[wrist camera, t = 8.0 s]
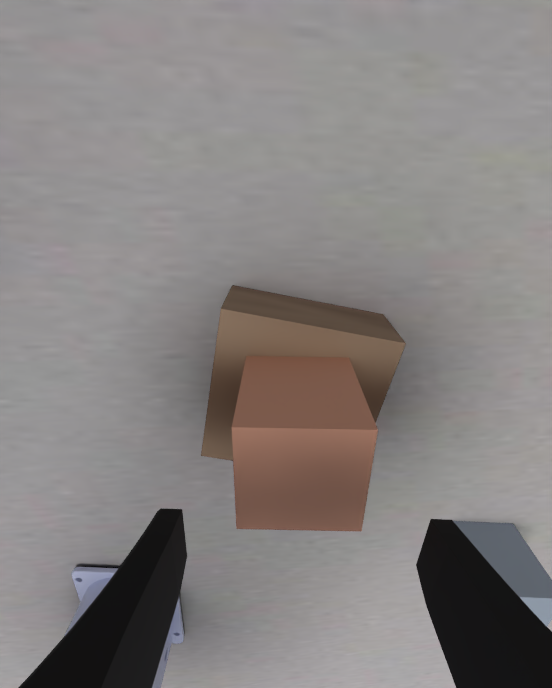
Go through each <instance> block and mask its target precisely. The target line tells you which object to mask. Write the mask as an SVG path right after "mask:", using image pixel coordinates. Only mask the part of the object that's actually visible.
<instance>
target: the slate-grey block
mask: <svg viewBox="0 0 552 688" xmlns="http://www.w3.org/2000/svg"><path fill="white" fill-rule="evenodd" d="M453 522H454V523H455V524H456V525H457V526H458V527H459V529H460V530H461V531H462V532H463V533H464V534H465V536H466V537H467V538H468V539H469V540H470V541H471V543H472V544H473V545H474V546H475V547H476V548H477V550H478V551H479V552H480V553H481V554H482V555H483V557H484V558H485V559H486V560H487V561H488V562H489V563H490V565H491V566H492V567H493V568H494V569H495V570H496V572H497V573H498V574H499V575H500V576H501V577H502V578H503V579H504V581H505V582H506V583H507V584H508V585H509V586H510V587H511V588H512V589H513V591H514V592H515V593H516V594H517V595H518V596H519V597H520V598H521V599H522V601H523V602H524V603H525V604H526V605H527V606H528V607H529V608H530V609H531V610H532V612H533V613H534V614H535V615H536V616H537V617H538V618H539V619H540V620H541V621H542V622H543V623H544V624H545V625H546V626H548V624H549V623H550V621H551V620H552V580H551V578H550V577H549V575H548V574H547V572H546V571H545V569H544V568H543V567H542V565H541V564H540V562H539V561H538V559H537V558H536V556H535V555H534V553H533V552H532V550H531V549H530V548H529V546H528V545H527V543H526V542H525V540H524V539H523V537H522V536H521V534H520V533H519V532H518V530H517V529H516V527H515V526H514V524H513V523H489V522H465V521H453Z"/></svg>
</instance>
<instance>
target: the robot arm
mask: <svg viewBox="0 0 552 688" xmlns="http://www.w3.org/2000/svg"><path fill="white" fill-rule="evenodd" d="M186 559H187V552H186V542H185V532H184V523H183V513H182V509H160V510H159V511H157V513H156V515H155V516H154V518H153V519H152V521H151V522H150V524H149V526H148V527H147V529H146V530H145V532H144V533H143V535H142V536H141V537H140V539H139V540H138V542H137V543H136V545H135V546H134V548H133V549H132V550H131V552H130V553H129V555H128V556H127V557H126V559H125V560H124V562H123V563H122V564H121V566H120V567H119V568H97V567H76V568H74V570H73V571H72V573H71V574H72V578H73V581H74V584H75V587H76V590H77V593H78V596H79V599H80V604H79V607H78V609H77V611H76V613H75V615H74V617H73V619H72V621H71V623H70V625H69V627H68V629H67V631H66V634H65V636H64V638H63V639H62V640H61V641H60V642H59V643H58V645H57V646H56V647H55V648H54V649H53V650H52V651H51V653H50V654H49V655H48V656H47V657H46V658H45V659H44V660H43V661H42V663H41V664H40V665H39V666H38V667H37V668H36V669H35V670H34V672H33V673H32V674H31V675H30V676H29V677H28V678H27V679H26V680H25V681H24V682H23V683H22V684H21V686H20V687H19V688H161V685H162V681H163V676H164V672H165V668H166V664H167V660H168V656H169V651H170V647H171V643H182V642H183V640H184V630H183V622H182V614H181V606H180V598H179V594H180V589H181V584H182V579H183V574H184V569H185V564H186ZM416 566H417V570H418V574H419V578H420V582H421V587H422V590H423V594H424V598H425V602H426V605H427V608H428V611H429V614H430V617H431V620H432V622H433V625H434V628H435V631H436V634H437V636H438V639H439V642H440V645H441V647H442V650H443V653H444V655H445V658H446V661H447V664H448V666H449V669H450V672H451V674H452V677H453V680H454V683H455V685H456V688H552V632H551V631H550V630H549V629H548V628H547V626H546V625H545V624H544V623H543V622H542V621H541V620H540V619H539V618H538V617H537V616H536V615H535V614H534V613H533V612H532V610H531V609H530V608H529V607H528V606H527V605H526V604H525V603H524V602H523V601H522V599H521V598H520V597H519V596H518V595H517V594H516V593H515V592H514V591H513V589H512V588H511V587H510V586H509V585H508V584H507V583H506V582H505V581H504V579H503V578H502V577H501V576H500V575H499V574H498V573H497V572H496V570H495V569H494V568H493V567H492V566H491V565H490V563H489V562H488V561H487V560H486V559H485V558H484V557H483V555H482V554H481V553H480V552H479V551H478V550H477V548H476V547H475V546H474V545H473V544H472V543H471V541H470V540H469V539H468V538H467V537H466V536H465V534H464V533H463V532H462V531H461V530H460V529H459V527H458V526H457V525H456V524H455V523H454V522H453V521H452V520H441V519H431V520H430V523H429V527H428V530H427V533H426V536H425V539H424V542H423V545H422V549H421V552H420V555H419V558H418V561H417V564H416Z"/></svg>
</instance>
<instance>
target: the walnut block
mask: <svg viewBox="0 0 552 688" xmlns="http://www.w3.org/2000/svg"><path fill="white" fill-rule="evenodd" d="M405 344H406V343H405V342H404V340H403V339H402V338H401V337H400V335H399V334H398V333H397V331H396V330H395V329H394V328H393V326H392V325H391V324H390V323H389V321H388V320H387V319H386V317H385V316H384V315H383V314H378V313H373V312H368V311H363V310H358V309H353V308H347V307H342V306H337V305H332V304H327V303H321V302H316V301H311V300H306V299H301V298H296V297H290V296H285V295H280V294H275V293H270V292H264V291H259V290H254V289H249V288H244V287H239V286H233V285H232V287H231V289H230V291H229V293H228V295H227V297H226V299H225V301H224V303H223V305H222V308H221V312H220V319H219V327H218V334H217V342H216V349H215V356H214V364H213V371H212V379H211V386H210V393H209V401H208V408H207V415H206V423H205V430H204V438H203V445H202V452H201V456H207V457H213V458H219V459H225V460H232V461H233V445H232V423H233V418H234V413H235V408H236V404H237V399H238V394H239V389H240V384H241V379H242V375H243V370H244V365H245V360H246V356H287V357H345V358H349V359H350V361H351V364H352V366H353V369H354V371H355V374H356V376H357V379H358V381H359V384H360V386H361V389H362V391H363V394H364V396H365V399H366V401H367V404H368V406H369V409H370V411H371V414H372V416H373V419H374V421H375V422H376V420H377V417H378V414H379V412H380V409H381V407H382V404H383V402H384V399H385V396H386V394H387V391H388V389H389V386H390V383H391V381H392V378H393V376H394V373H395V370H396V368H397V365H398V363H399V360H400V357H401V355H402V352H403V350H404V347H405Z"/></svg>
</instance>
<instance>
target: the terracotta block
mask: <svg viewBox="0 0 552 688" xmlns="http://www.w3.org/2000/svg"><path fill="white" fill-rule="evenodd" d="M377 433H378V429H377V426H376V424H375V421H374V419H373V416H372V414H371V411H370V409H369V406H368V404H367V401H366V399H365V396H364V394H363V391H362V389H361V386H360V384H359V381H358V379H357V376H356V374H355V371H354V369H353V366H352V364H351V361H350V359H349V358H345V357H287V356H246V360H245V365H244V370H243V375H242V379H241V384H240V389H239V394H238V399H237V404H236V408H235V413H234V418H233V423H232V445H233V466H234V486H235V507H236V527H237V529H273V530H321V531H362V525H363V518H364V512H365V506H366V500H367V494H368V488H369V482H370V476H371V469H372V463H373V457H374V451H375V445H376V439H377Z"/></svg>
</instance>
